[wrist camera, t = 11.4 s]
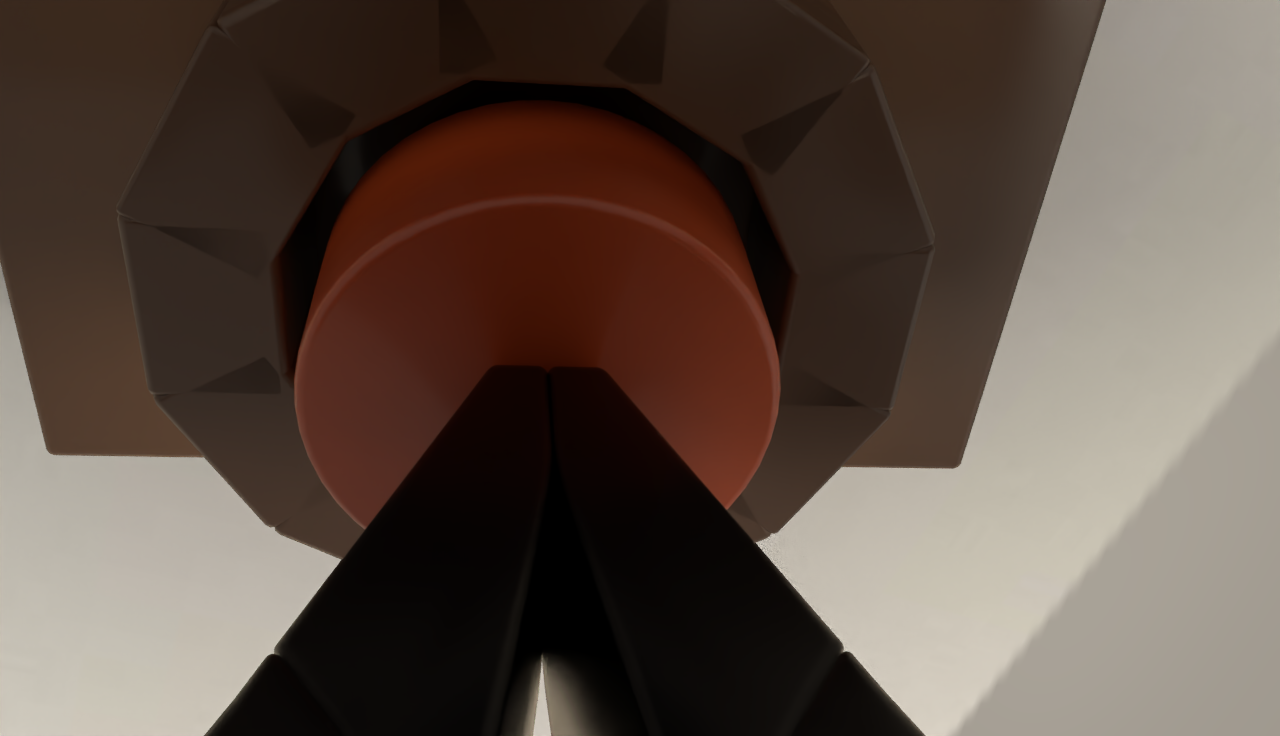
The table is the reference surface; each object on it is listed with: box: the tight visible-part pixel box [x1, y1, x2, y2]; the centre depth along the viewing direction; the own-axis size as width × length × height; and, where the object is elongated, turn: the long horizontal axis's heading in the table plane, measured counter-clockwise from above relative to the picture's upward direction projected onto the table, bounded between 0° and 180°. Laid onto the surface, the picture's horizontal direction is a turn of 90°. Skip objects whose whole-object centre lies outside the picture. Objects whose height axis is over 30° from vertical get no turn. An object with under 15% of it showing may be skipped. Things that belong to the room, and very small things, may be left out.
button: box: [294, 100, 781, 529], centre depth 9 cm, size 4×4×2 cm
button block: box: [0, 0, 1106, 559], centre depth 11 cm, size 10×8×4 cm
